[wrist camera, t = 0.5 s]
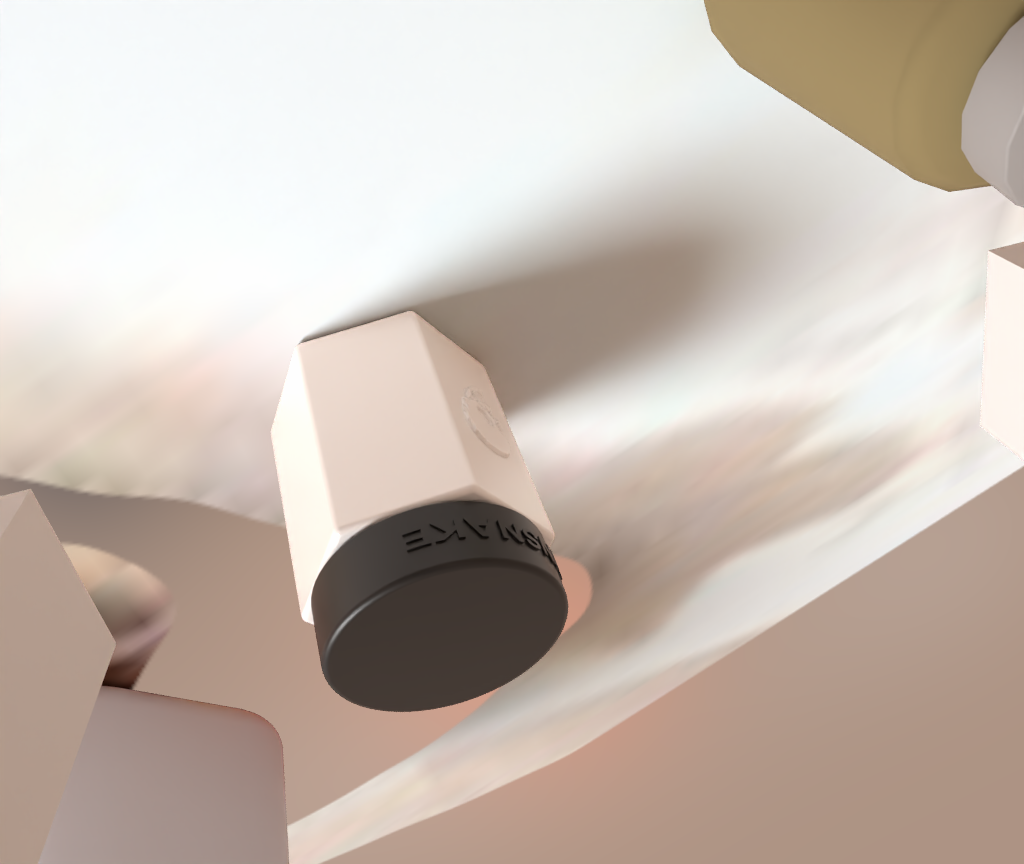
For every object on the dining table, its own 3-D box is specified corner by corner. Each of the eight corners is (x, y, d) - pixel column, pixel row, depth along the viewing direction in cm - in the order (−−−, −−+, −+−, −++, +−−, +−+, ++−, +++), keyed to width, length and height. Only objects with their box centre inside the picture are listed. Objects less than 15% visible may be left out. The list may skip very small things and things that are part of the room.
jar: (519, 385, 40) (623, 615, 32) (382, 495, 42) (446, 736, 34) (374, 271, 34) (457, 520, 26) (222, 407, 36) (254, 675, 28)
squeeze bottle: (656, 64, 31) (1000, 433, 19) (643, -222, 25) (1133, 53, 13) (877, -4, 32) (1346, 312, 20) (916, -297, 26) (1623, -101, 14)
